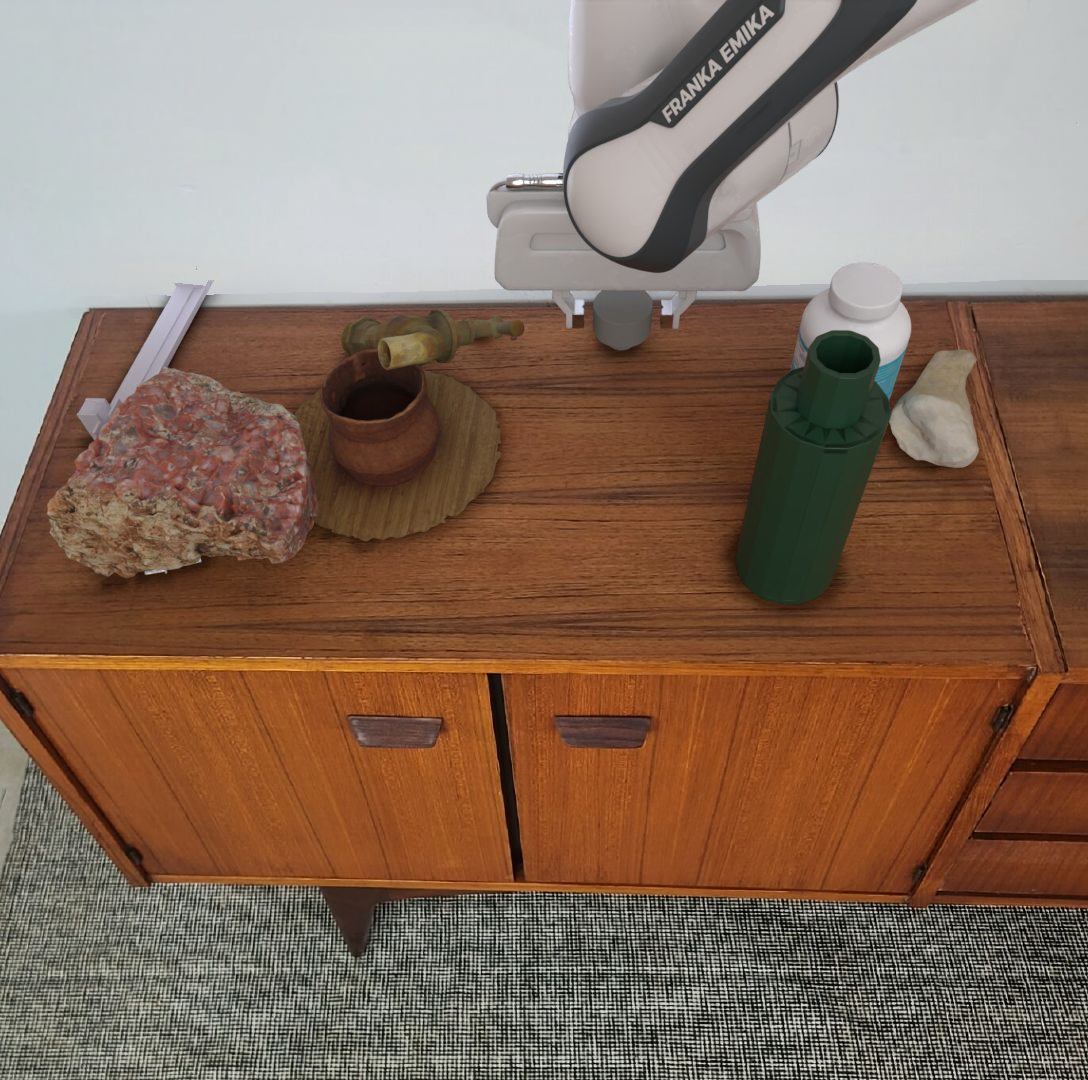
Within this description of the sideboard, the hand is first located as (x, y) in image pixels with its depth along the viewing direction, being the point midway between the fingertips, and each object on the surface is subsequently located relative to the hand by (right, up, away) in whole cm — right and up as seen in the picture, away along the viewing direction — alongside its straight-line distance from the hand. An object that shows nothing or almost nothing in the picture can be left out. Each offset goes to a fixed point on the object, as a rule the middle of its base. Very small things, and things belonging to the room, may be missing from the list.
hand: (621, 323), depth 88 cm
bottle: (+10, -20, -12) cm, 25 cm away
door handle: (-41, -1, +3) cm, 41 cm away
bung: (0, -1, +2) cm, 2 cm away
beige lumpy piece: (+24, -9, -5) cm, 26 cm away
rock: (-30, -8, -6) cm, 31 cm away
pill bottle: (+15, -9, -5) cm, 18 cm away
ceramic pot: (-19, -11, -4) cm, 22 cm away
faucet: (-22, -4, -7) cm, 24 cm away
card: (-32, -19, -8) cm, 38 cm away
